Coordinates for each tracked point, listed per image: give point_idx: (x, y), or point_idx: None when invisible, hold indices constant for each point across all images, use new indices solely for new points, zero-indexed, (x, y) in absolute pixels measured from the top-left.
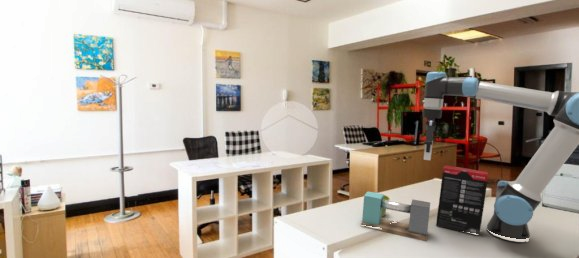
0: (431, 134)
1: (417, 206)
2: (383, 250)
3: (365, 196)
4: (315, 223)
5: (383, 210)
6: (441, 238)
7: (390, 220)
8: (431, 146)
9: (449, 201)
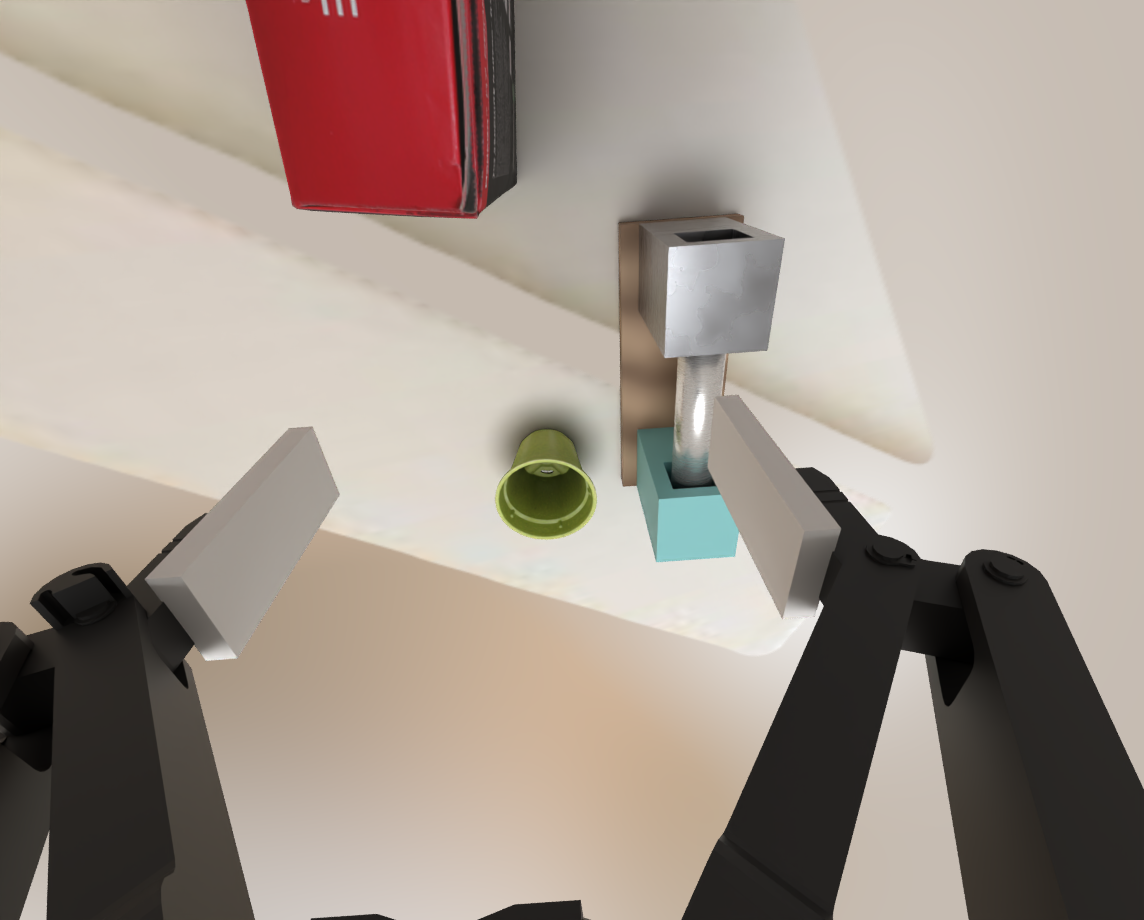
0: (1105, 776)
1: (771, 312)
2: (889, 358)
3: (734, 549)
4: (755, 582)
5: (566, 446)
6: (668, 140)
7: (623, 396)
8: (825, 515)
9: (509, 108)
